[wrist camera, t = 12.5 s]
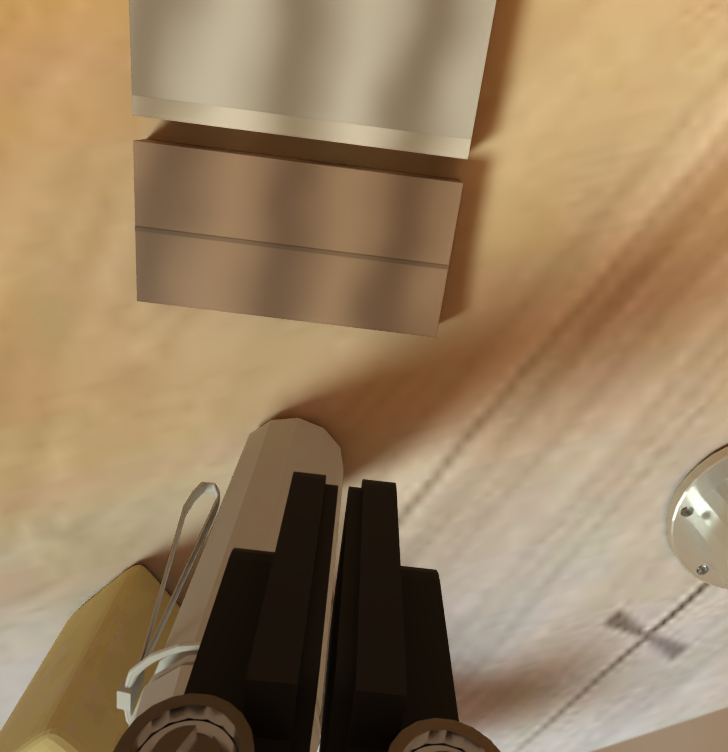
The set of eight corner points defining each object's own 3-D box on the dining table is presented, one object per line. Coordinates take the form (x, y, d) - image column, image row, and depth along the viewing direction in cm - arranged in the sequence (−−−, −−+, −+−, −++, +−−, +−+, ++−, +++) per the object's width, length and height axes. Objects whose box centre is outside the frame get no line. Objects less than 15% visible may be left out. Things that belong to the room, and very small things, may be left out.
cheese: (340, 709, 53) (328, 919, 39) (262, 759, 56) (224, 972, 42) (141, 553, 47) (44, 737, 33) (64, 618, 50) (-57, 813, 36)
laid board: (458, 179, 36) (463, 183, 34) (433, 326, 39) (436, 337, 37) (145, 139, 35) (133, 140, 33) (148, 291, 39) (136, 301, 37)
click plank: (500, -54, 31) (507, -63, 29) (462, 156, 35) (467, 159, 33) (140, -104, 30) (125, -117, 29) (145, 114, 35) (132, 115, 33)
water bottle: (353, 415, 42) (324, 787, 19) (337, 511, 45) (295, 931, 22) (218, 395, 41) (18, 750, 18) (211, 493, 44) (33, 901, 21)
